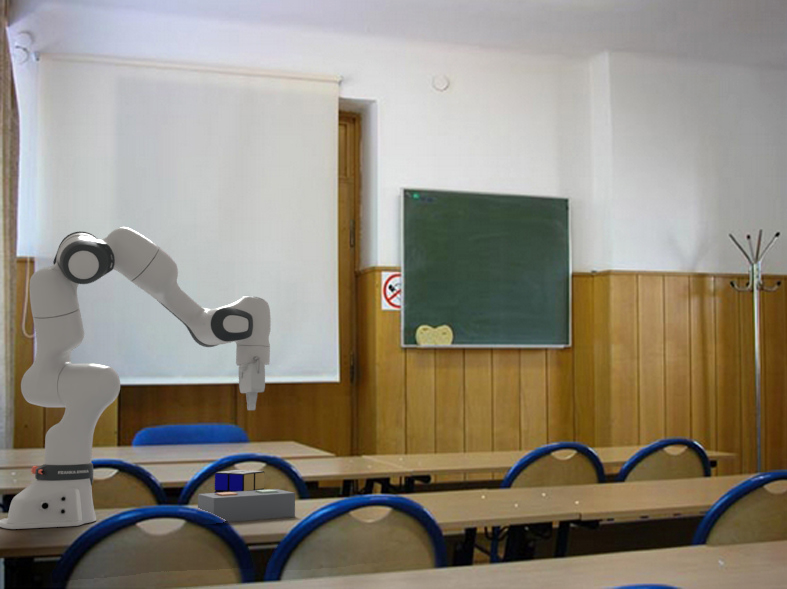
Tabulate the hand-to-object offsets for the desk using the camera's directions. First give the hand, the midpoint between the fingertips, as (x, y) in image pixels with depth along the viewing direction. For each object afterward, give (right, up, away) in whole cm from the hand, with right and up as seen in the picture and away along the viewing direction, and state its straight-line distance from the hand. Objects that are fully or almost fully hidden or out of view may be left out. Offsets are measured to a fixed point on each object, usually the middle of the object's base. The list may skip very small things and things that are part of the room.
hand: (251, 410), depth 245 cm
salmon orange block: (-5, -26, -11) cm, 28 cm away
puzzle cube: (-5, -29, +11) cm, 31 cm away
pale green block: (+5, -26, -5) cm, 27 cm away
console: (0, -26, -8) cm, 28 cm away
